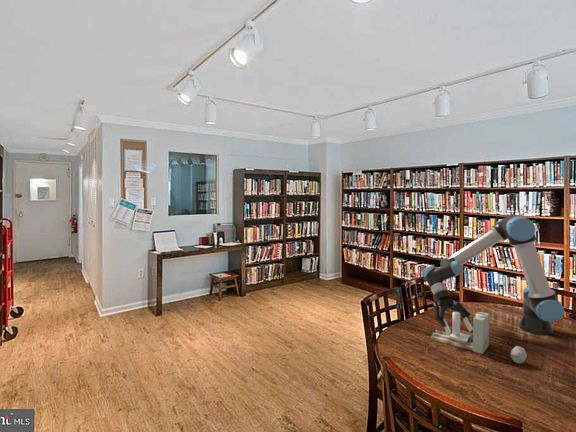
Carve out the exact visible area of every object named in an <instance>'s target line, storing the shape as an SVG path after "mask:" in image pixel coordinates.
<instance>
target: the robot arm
mask: <svg viewBox="0 0 576 432" xmlns="http://www.w3.org/2000/svg"><path fill="white" fill-rule="evenodd" d="M506 240H508V243H509V245H510V246H511V247H513V248H514V250H515V253H516V255H517V257H518V261H519V264H520V267H521V269H522V273H523V275H524V278H525V281H526V284H527V287H524V288H523V292H522V294H523V298H522V299H523V301H522V303H523V305H522V315H521V317H520V320H519V322H518V328H519V329H520V330H522V331H525V332H528V333H531V334H536V335H548V336H549V335H551V334H553V333H554V327H553V324H552V322H553V323H554V322H558V321H559V320H560V319H562V317H564V314H565V309H564V306H563V305H562V303H561V302H560V301H559V299H558V296H557V293H556V291H555V290H554V289H553V288H552V289H551V288H550V285H549V282H548V279H547V277H546V272H545V270H544V267H543V265H542V261H541V259H540V255H539V254H538V251H537V247H536V245H535V243H536V241H537V237H536V226H535V224H534V222H533V221H532V220H531V219H529V218H528V217H525V216H520V215H508V216H506V217H504V218H502V219H501V220H499V221H498V222H497V223H496V224H494V225H493V226H491V227H490V230H488V231H486V232H485V233H484V234H482V235H481V236H479V237H478V238H476V239H475V240H473V241H471V242H470V243H468V244H466V245H465V246H464V247H462V248H460V249H458V250H457V251H456V252H454V253H453V254H451V255H449V256H448V257H445V258H443V259H442V260H441V261H440V265H439V267H437V266H434V265H430V266H429V265H428V266H426V267H425V268H424V269H423V271H422V273H423V275H424V279H425V280H426V282H427V285H428V286H429V288H430V290H431V292H432V294H433V296H434V299H435V301H434V302H433V303H432V305H433V308H434V310H433V311H434V320H435V321H436V322H437V321H438V323H440V325H441V326H442V328H444V331H445V332H446V333H447V334H449V333H450V334H451V333H452V330H451V327H449V324H448V322H447V320H446V318H444V317H445V313H446V310H447V311H448V310H449V311H450V310H451V311H452V312H459V313H460V318H463V319H462V321H463V323H464V324H465V326H466V328H467V330H468V332H471V331H472V332H473V326H472V324H471V323H472V322H471V320H470V316H471V313H470V312H469V311H468V309H466V308H465V307H464V306H463V305H462V304H461V303H460V301H459V300H458V299H455V300H453V298H452V296H451V293H450V292H449V291H448V288H447V286H446V283H444V281H446V280H450V279H451V278H455V277H457V276H459V275H461V274H463V273H464V269H463V267H462V266H463V265H464V264H465V263H468V262H469V261H471V260H473V258H475V257H477V256H478V255H481V254H482V253H483V252H485V251H486V250H488V249H489V248H491V247H494V246H495V245H496V244H497V243H499V242H505V241H506ZM439 306H440V307H439Z"/></svg>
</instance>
